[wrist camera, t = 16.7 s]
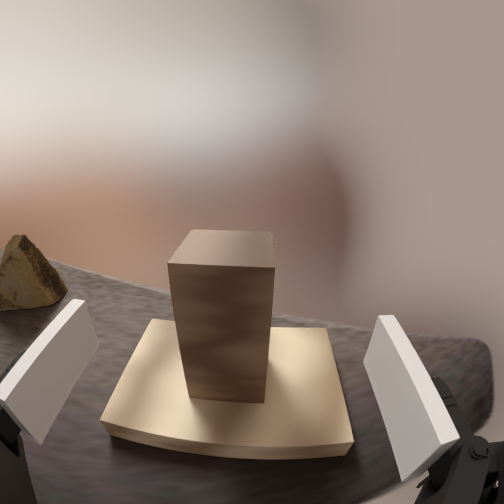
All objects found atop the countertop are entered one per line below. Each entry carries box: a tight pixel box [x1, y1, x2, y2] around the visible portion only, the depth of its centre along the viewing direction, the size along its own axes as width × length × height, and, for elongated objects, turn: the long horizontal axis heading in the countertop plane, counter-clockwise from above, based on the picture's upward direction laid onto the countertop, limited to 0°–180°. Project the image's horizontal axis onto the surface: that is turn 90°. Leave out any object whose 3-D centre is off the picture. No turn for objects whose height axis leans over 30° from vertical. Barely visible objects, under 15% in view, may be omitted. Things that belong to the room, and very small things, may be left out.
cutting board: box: [100, 319, 354, 459], centre depth 19 cm, size 16×12×2 cm
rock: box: [0, 235, 68, 311], centre depth 27 cm, size 11×9×10 cm
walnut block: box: [167, 230, 275, 403], centre depth 17 cm, size 5×5×10 cm
